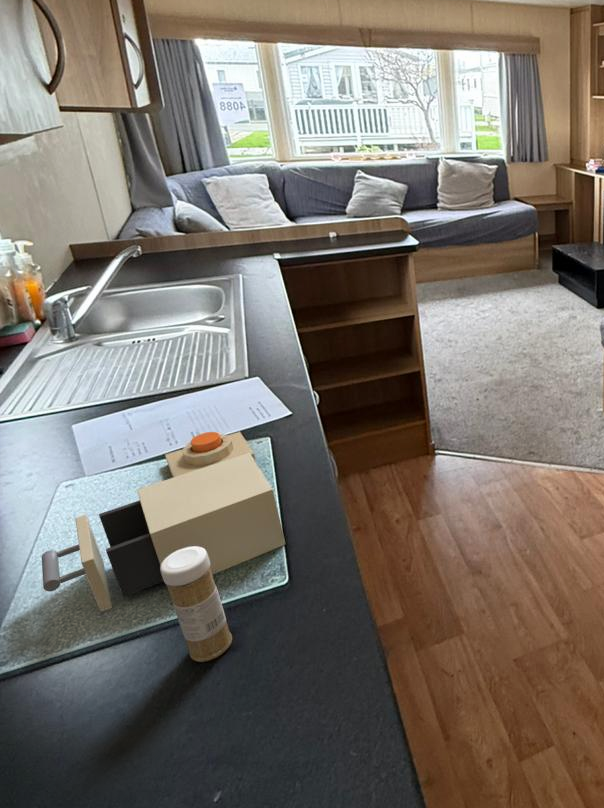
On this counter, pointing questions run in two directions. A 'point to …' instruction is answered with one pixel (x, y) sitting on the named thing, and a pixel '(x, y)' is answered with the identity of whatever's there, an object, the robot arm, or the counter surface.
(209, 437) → the button
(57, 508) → the counter surface
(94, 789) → the counter surface
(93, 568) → the pull-out drawer
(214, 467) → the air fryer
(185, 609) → the sprinkles bottle
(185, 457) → the panel
